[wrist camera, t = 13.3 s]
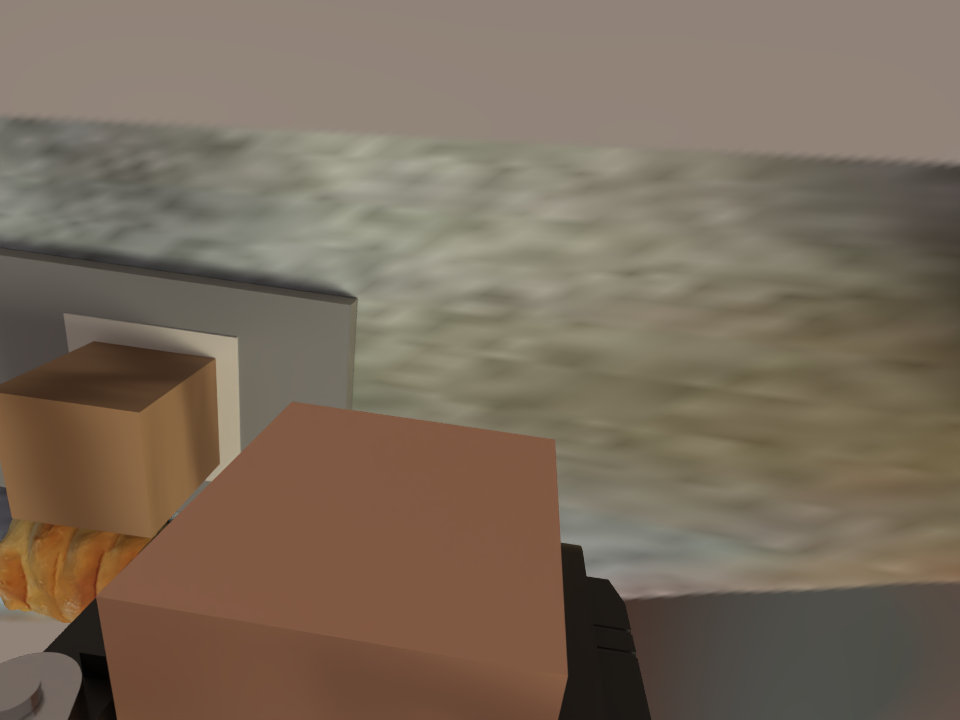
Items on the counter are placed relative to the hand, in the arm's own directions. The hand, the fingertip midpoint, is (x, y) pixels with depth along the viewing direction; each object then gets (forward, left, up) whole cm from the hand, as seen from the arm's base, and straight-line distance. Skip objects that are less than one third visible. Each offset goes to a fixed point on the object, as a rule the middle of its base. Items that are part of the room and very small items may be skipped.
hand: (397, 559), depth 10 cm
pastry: (+15, +13, -14) cm, 25 cm away
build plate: (+12, +5, -14) cm, 19 cm away
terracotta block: (0, 0, -1) cm, 1 cm away
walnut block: (+12, +5, -12) cm, 18 cm away
